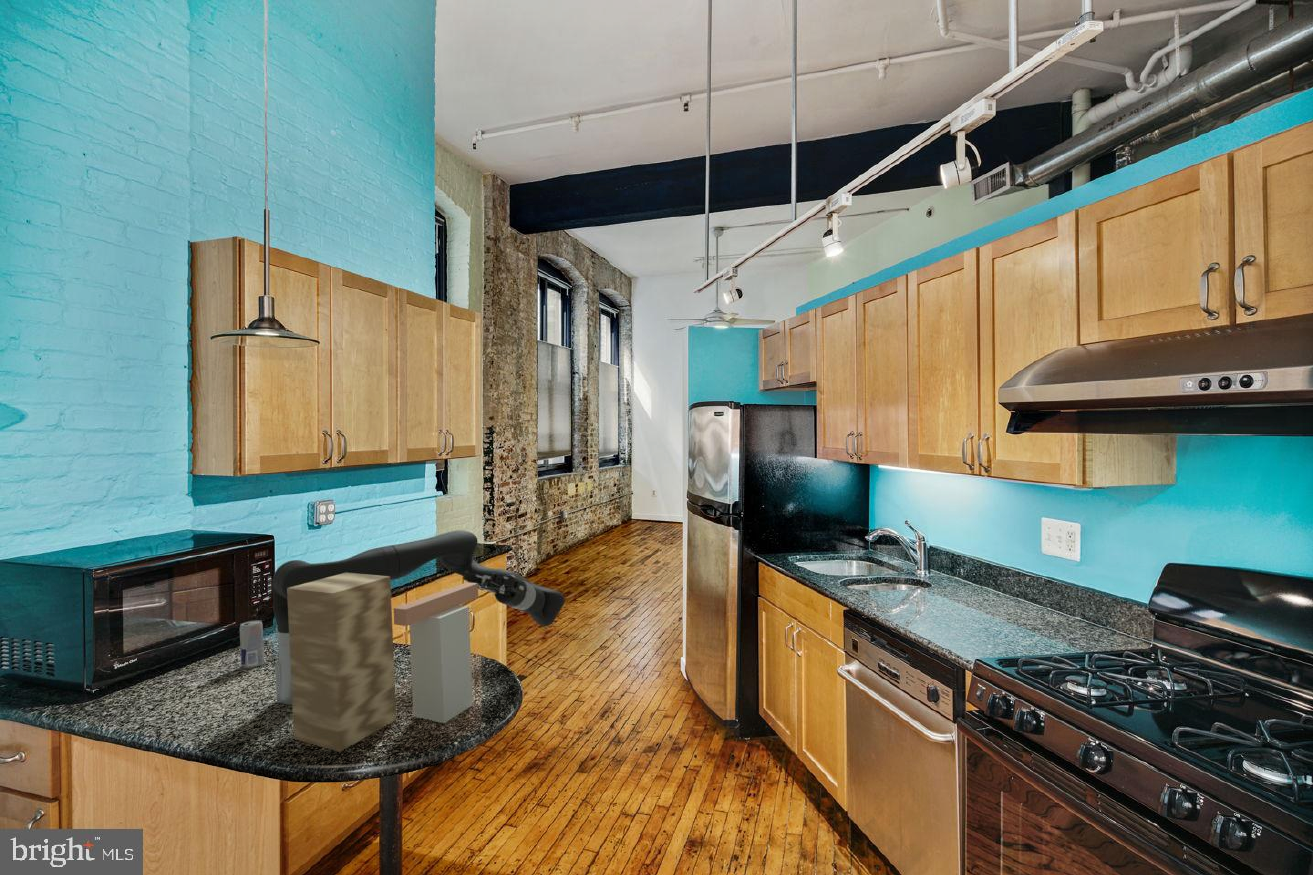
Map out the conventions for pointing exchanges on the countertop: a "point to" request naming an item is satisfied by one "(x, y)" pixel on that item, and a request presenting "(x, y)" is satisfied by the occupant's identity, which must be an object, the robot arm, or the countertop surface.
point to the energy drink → (251, 644)
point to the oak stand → (341, 659)
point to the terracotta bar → (435, 604)
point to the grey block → (441, 665)
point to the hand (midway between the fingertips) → (478, 576)
